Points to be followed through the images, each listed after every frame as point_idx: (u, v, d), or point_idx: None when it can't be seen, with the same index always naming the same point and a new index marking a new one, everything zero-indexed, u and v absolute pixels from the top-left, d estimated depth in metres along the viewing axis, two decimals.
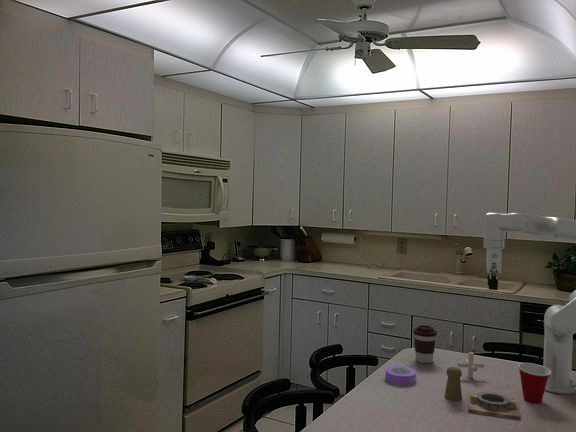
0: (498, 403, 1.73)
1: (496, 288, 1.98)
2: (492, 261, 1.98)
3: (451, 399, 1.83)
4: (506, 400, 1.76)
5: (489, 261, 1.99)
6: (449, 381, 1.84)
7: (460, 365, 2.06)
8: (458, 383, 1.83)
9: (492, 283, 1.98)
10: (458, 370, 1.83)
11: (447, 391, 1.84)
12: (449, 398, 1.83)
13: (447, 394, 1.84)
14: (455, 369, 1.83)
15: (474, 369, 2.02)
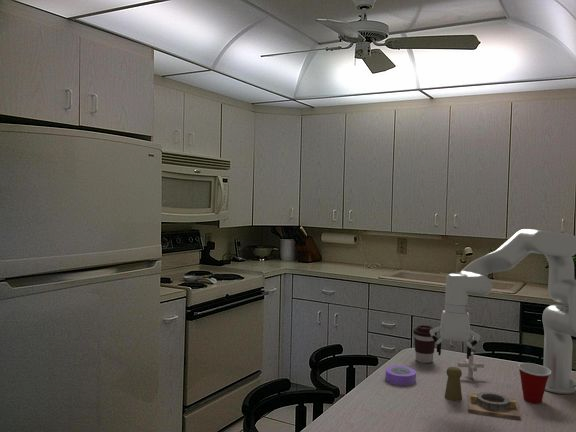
0: (498, 403, 1.73)
1: None
2: (469, 327, 1.82)
3: (451, 399, 1.83)
4: (506, 400, 1.76)
5: (469, 328, 1.81)
6: (449, 381, 1.84)
7: (460, 365, 2.06)
8: (458, 383, 1.83)
9: None
10: (458, 370, 1.83)
11: (447, 391, 1.84)
12: (449, 398, 1.83)
13: (447, 394, 1.84)
14: (455, 369, 1.83)
15: (474, 369, 2.02)
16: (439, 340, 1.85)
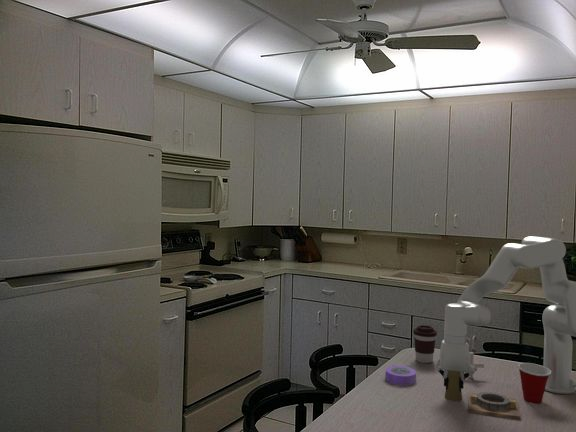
0: (498, 403, 1.73)
1: None
2: None
3: (451, 399, 1.83)
4: (506, 400, 1.76)
5: (468, 359, 1.81)
6: (449, 381, 1.84)
7: None
8: (458, 383, 1.83)
9: None
10: None
11: (447, 391, 1.84)
12: (449, 398, 1.83)
13: (447, 394, 1.84)
14: None
15: (474, 369, 2.02)
16: (446, 374, 1.84)
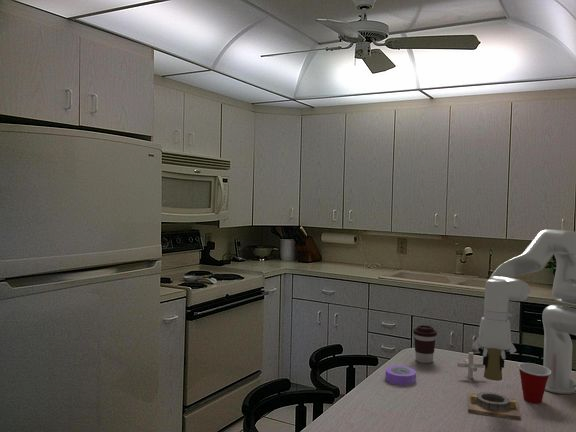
0: (498, 403, 1.73)
1: None
2: (510, 335, 1.75)
3: (491, 378, 1.75)
4: (506, 400, 1.76)
5: (510, 336, 1.74)
6: (489, 359, 1.76)
7: (460, 365, 2.06)
8: (499, 361, 1.75)
9: None
10: None
11: (487, 370, 1.76)
12: (489, 377, 1.75)
13: (487, 373, 1.76)
14: None
15: (474, 369, 2.02)
16: (486, 353, 1.77)
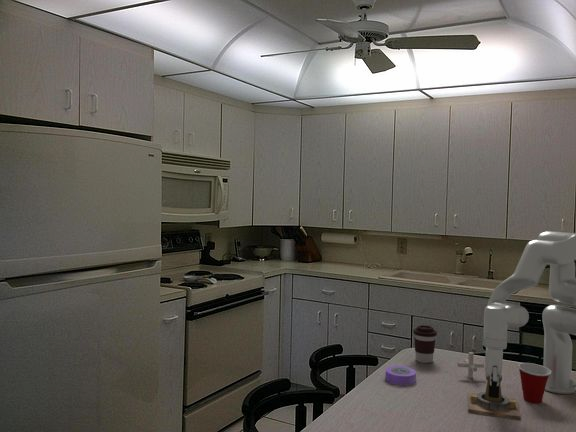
0: (498, 403, 1.73)
1: None
2: None
3: None
4: (506, 400, 1.76)
5: None
6: None
7: (460, 365, 2.06)
8: None
9: None
10: None
11: (498, 398, 1.76)
12: None
13: (499, 401, 1.76)
14: None
15: (474, 369, 2.02)
16: None
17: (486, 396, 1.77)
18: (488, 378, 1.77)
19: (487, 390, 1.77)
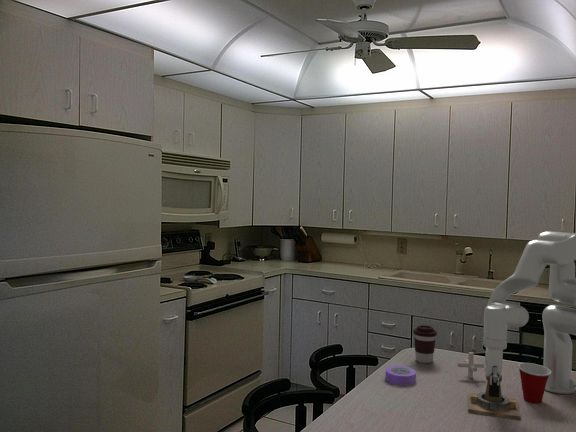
0: (498, 403, 1.73)
1: None
2: None
3: None
4: (506, 400, 1.76)
5: None
6: None
7: (460, 365, 2.06)
8: None
9: None
10: None
11: (498, 398, 1.76)
12: None
13: (499, 401, 1.76)
14: None
15: (474, 369, 2.02)
16: (498, 381, 1.73)
17: (486, 396, 1.77)
18: (488, 378, 1.77)
19: (487, 390, 1.77)
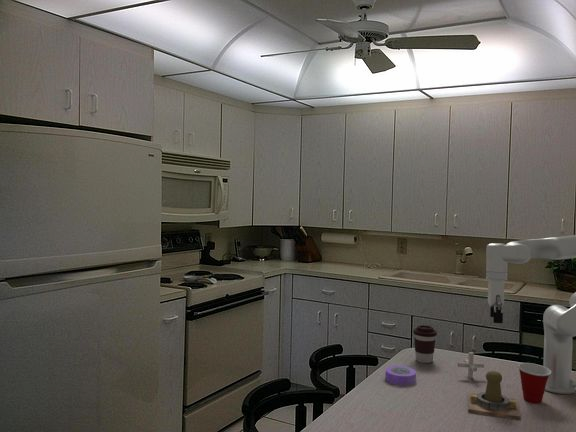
0: (498, 403, 1.73)
1: None
2: None
3: None
4: (506, 400, 1.76)
5: None
6: (498, 387, 1.76)
7: (460, 365, 2.06)
8: None
9: None
10: (497, 372, 1.79)
11: (498, 398, 1.76)
12: None
13: (499, 401, 1.76)
14: (498, 372, 1.78)
15: (474, 369, 2.02)
16: (501, 309, 1.93)
17: (486, 396, 1.77)
18: (488, 378, 1.77)
19: (487, 390, 1.77)
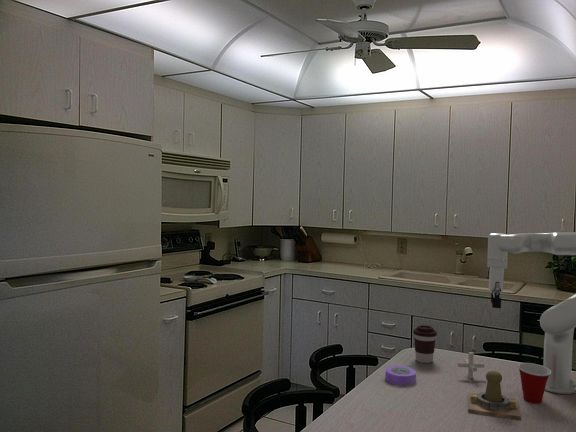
0: (498, 403, 1.73)
1: None
2: None
3: None
4: (506, 400, 1.76)
5: None
6: (498, 387, 1.76)
7: (460, 365, 2.06)
8: None
9: None
10: (497, 372, 1.79)
11: (498, 398, 1.76)
12: None
13: (499, 401, 1.76)
14: (498, 372, 1.78)
15: (474, 369, 2.02)
16: (500, 294, 2.05)
17: (486, 396, 1.77)
18: (488, 378, 1.77)
19: (487, 390, 1.77)
